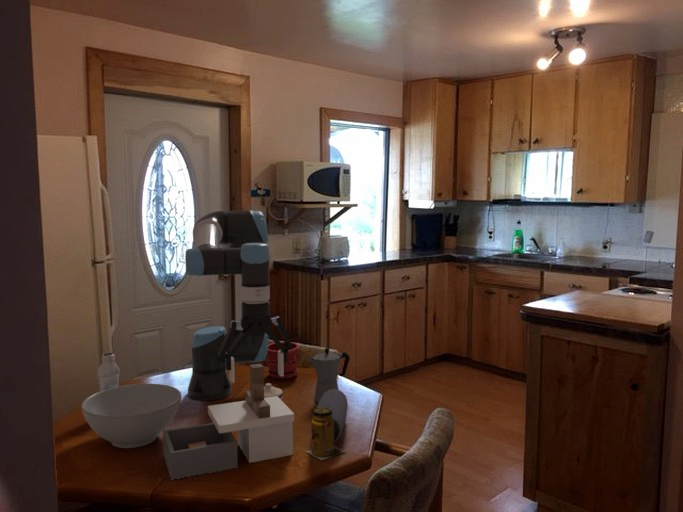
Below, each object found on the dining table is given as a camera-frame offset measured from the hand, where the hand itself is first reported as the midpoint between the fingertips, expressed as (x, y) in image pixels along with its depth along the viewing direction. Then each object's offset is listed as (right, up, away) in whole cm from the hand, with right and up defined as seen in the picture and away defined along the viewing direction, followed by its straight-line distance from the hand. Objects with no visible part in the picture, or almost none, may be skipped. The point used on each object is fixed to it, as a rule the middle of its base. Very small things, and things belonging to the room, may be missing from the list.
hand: (256, 378), depth 155 cm
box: (-15, -21, -5) cm, 26 cm away
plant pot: (0, -14, +68) cm, 70 cm away
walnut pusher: (0, -8, +1) cm, 9 cm away
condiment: (+19, -21, +1) cm, 28 cm away
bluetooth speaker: (+20, -19, +14) cm, 31 cm away
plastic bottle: (-51, -18, +27) cm, 60 cm away
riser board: (-3, -21, +1) cm, 21 cm away
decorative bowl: (-37, -20, +10) cm, 43 cm away
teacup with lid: (+1, -18, +25) cm, 31 cm away
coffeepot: (+19, -16, +43) cm, 50 cm away
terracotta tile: (-16, -18, -2) cm, 24 cm away
